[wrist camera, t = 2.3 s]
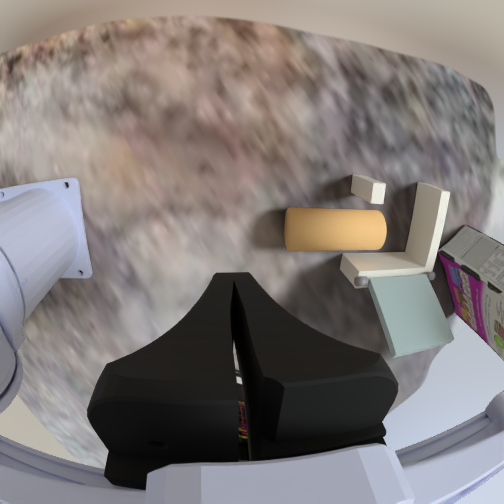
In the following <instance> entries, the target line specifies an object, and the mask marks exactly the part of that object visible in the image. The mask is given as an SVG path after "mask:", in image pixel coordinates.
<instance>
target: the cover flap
mask: <svg viewBox="0 0 504 504" xmlns="http://www.w3.org/2000/svg"><path fill="white" fill-rule="evenodd" d="M368 288H369V291H370V294H371V296H372V299H373V302H374V305H375V307H376V310H377V313H378V316H379V319H380V322H381V325H382V328H383V331H384V334H385V337H386V340H387V343H388V347H389V350H390V353H391V356H392V358H395V357H400V356H404V355H408V354H412V353H416V352H420V351H424V350H427V349H431V348H435V347H438V346H442V345H445V344H448V343H450V342H452V341H453V340H454V337H453V334H452V332H451V329H450V327H449V324H448V322H447V319H446V317H445V315H444V312H443V310H442V308H441V305H440V303H439V301H438V299H437V296H436V294H435V292H434V290H433V288H432V286H431V283H430V281H429V279H428V277H427V275H426V274H422V275H410V276H397V277H383V278H370V279H369V280H368Z"/></svg>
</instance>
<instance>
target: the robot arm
mask: <svg viewBox="0 0 504 504" xmlns="http://www.w3.org/2000/svg"><path fill="white" fill-rule="evenodd" d="M66 182H68V184H69V187H68V188H67V187H66V185H65V184H66ZM3 193H4V196H3ZM79 270H81V271H82V272H83V274H82V273H80V271H79ZM92 273H93V272H92V266H91V261H90V256H89V251H88V245H87V240H86V234H85V227H84V220H83V213H82V205H81V196H80V186H79V181H78V179H77V178H75V177H70V178H63V179H55V180H48V181H42V182H35V183H29V184H23V185H17V186H12V187H7V188H1V189H0V413H2V412H3V411H4V410H5V409H6V408H7V407H8V406H9V405H10V404H11V402H12V401H13V399H14V398H15V396H16V394H17V392H18V390H19V388H20V385H21V382H22V378H23V366H22V362H21V359H20V357H19V356H18V354H17V353H16V352H17V350H18V349H19V347H20V346H21V344H22V343H23V341H24V340H25V338H24V336H23V333H22V325H23V324H24V322H25V321H26V320H27V318H28V317H29V316H30V314H31V313H32V312H33V310H34V309H35V308H36V306H37V305H38V304H39V303H40V301H41V300H42V299H43V298H44V296H45V295H46V294H47V293H48V291H49V290H50V289H51V288H52V287H53V285H54V284H55V283H56V282H57V281H58V279H59V278H90V277H91V275H92ZM234 343H235V348H236V354H237V359H238V365H239V370H240V375H241V380H242V386H243V392H244V403H245V414H246V426H247V438H248V450H249V461H250V462H239V400H238V388H237V378H236V371H235V363H234V355H233V344H234ZM397 393H398V382H397V380H396V378H395V377H394V375H393V373H392V371H391V370H390V368H389V366H388V365H387V363H386V362H385V360H384V359H383V357H382V356H381V355H380V354H379V353H375V352H372V351H368V350H364V349H361V348H358V347H354V346H351V345H348V344H346V343H343V342H341V341H338V340H335V339H333V338H331V337H329V336H326V335H324V334H322V333H320V332H319V331H317V330H315V329H313V328H311V327H309V326H308V325H306V324H304V323H303V322H301V321H300V320H298V319H297V318H295V317H294V316H292V315H291V314H290V313H288V312H287V311H286V310H284V309H283V308H282V307H281V306H280V305H279V304H277V303H276V302H275V301H274V300H273V299H272V298H271V297H270V296H269V295H268V294H267V293H266V292H265V290H264V289H263V288H262V287H261V286H260V285H259V284H258V282H257V281H256V280H255V279H254V277H253V276H252V275H251V274H250V273H249V272H238V273H216V274H214V275H213V278H212V280H211V282H210V284H209V285H208V287H207V289H206V290H205V292H204V293H203V294H202V296H201V297H200V299H199V300H198V301H197V303H196V304H195V305H194V306H193V307H192V309H191V310H190V311H189V312H188V313H187V314H186V315H185V316H184V317H183V318H182V319H181V320H180V321H179V322H178V323H177V324H176V325H175V326H174V327H173V328H171V329H170V330H169V331H167V332H166V333H165V334H163V335H162V336H161V337H159V338H158V339H156V340H155V341H153V342H152V343H150V344H148V345H147V346H145V347H143V348H141V349H139V350H137V351H135V352H134V353H131V354H129V355H127V356H125V357H122V358H120V359H118V360H115V361H113V362H110V363H108V364H106V366H105V368H104V370H103V372H102V373H101V375H100V377H99V379H98V381H97V384H96V386H95V389H94V392H93V394H92V397H91V400H90V403H89V406H88V409H87V417H88V420H89V422H90V424H91V426H92V427H93V429H94V430H95V432H96V433H97V435H98V436H99V438H100V439H101V441H102V442H103V443H104V445H105V446H106V448H107V449H108V450H109V452H108V457H107V462H106V467H105V469H101V468H96V467H92V466H88V465H84V464H79V463H76V462H72V461H69V460H65V459H62V458H59V457H56V456H52V455H49V454H46V453H43V452H40V451H38V450H35V449H32V448H30V447H27V446H24V445H22V444H20V443H17V442H15V441H12V440H10V439H8V438H6V437H3V436H1V435H0V504H453V503H454V502H456V501H458V500H459V499H461V498H463V497H464V496H466V495H467V494H469V493H470V492H471V491H473V490H475V489H476V488H477V487H479V486H480V485H482V484H483V483H485V482H486V481H487V480H489V479H490V478H491V477H493V476H494V475H495V474H497V473H498V472H499V471H500V470H502V469H503V468H504V391H502V392H501V393H499V394H498V395H497V396H496V397H494V398H493V400H492V401H491V402H490V403H489V405H488V406H487V407H486V409H485V411H484V412H482V413H480V414H478V415H477V416H475V417H473V418H471V419H469V420H467V421H465V422H463V423H461V424H459V425H457V426H455V427H453V428H451V429H449V430H447V431H445V432H442V433H440V434H438V435H436V436H433V437H431V438H429V439H426V440H424V441H421V442H419V443H416V444H413V445H411V446H408V447H405V448H402V449H400V450H397V451H394V449H392V448H390V447H388V446H387V445H386V443H385V441H384V439H383V437H384V436H385V435H386V429H385V427H384V425H383V423H382V421H383V419H384V418H385V416H386V415H387V413H388V411H389V409H390V408H391V406H392V404H393V403H394V401H395V398H396V396H397Z"/></svg>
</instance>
